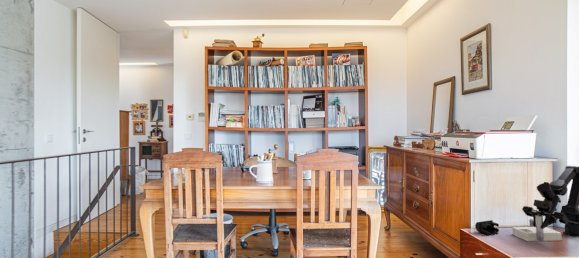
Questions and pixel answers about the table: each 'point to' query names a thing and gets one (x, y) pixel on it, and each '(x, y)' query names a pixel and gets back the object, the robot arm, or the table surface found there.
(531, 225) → the short pin
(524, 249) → the table surface
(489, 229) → the end cap
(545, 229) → the hole plate
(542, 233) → the long pin
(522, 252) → the table surface
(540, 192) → the robot arm
